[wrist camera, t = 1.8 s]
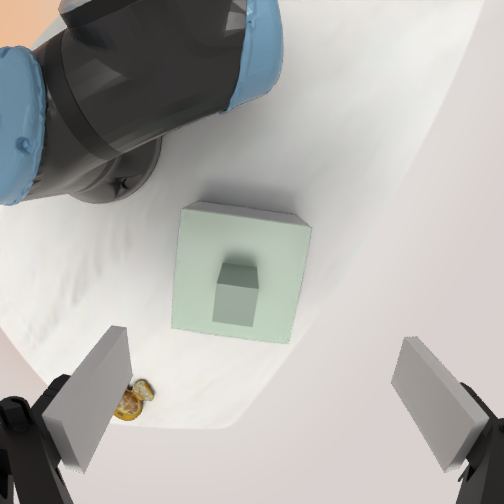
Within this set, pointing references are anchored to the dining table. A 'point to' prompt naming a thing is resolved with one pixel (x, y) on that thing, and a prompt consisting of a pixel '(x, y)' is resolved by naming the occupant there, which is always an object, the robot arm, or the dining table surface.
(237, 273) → the lid
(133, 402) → the fruit
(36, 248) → the dining table surface
